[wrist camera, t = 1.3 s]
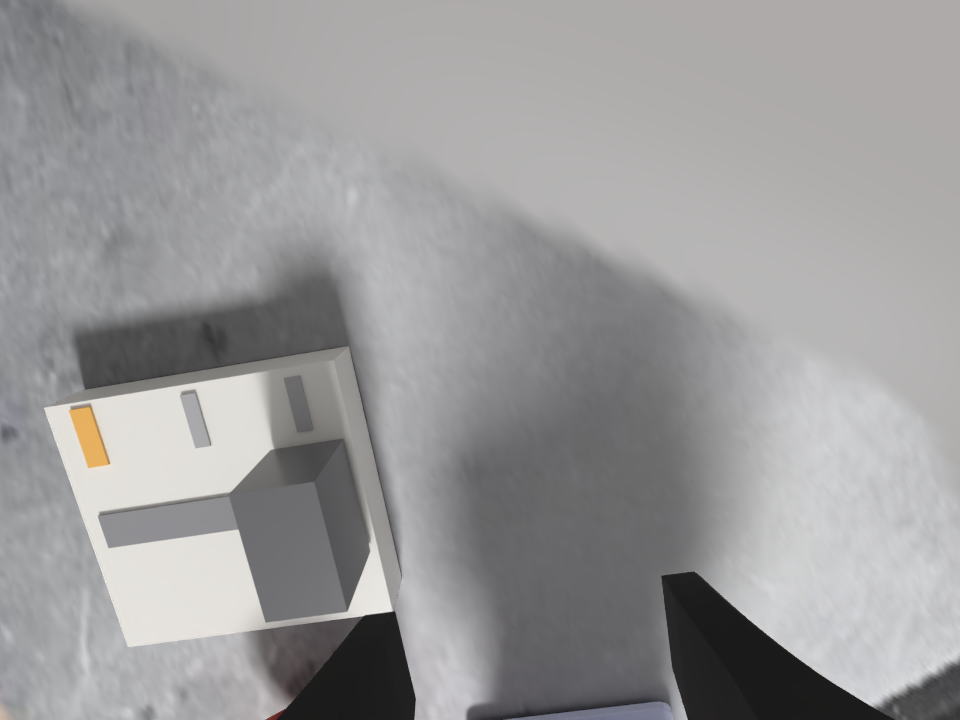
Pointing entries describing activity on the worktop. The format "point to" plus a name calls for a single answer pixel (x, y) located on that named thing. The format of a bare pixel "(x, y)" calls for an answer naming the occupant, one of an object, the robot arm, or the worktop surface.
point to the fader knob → (302, 530)
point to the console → (209, 487)
